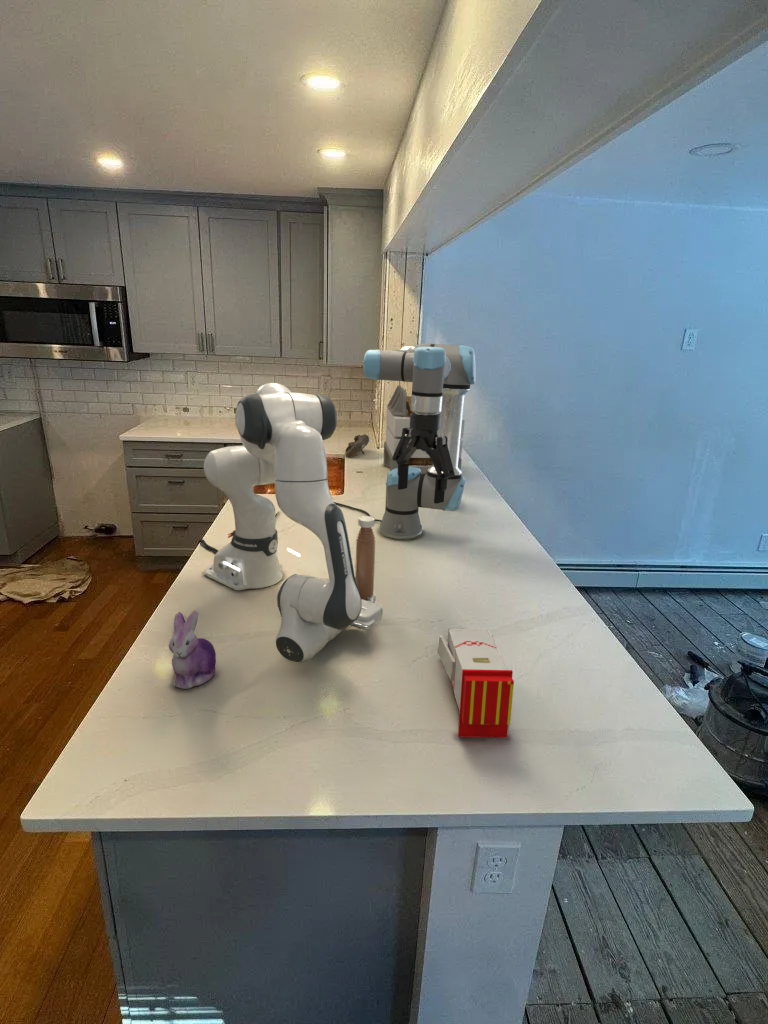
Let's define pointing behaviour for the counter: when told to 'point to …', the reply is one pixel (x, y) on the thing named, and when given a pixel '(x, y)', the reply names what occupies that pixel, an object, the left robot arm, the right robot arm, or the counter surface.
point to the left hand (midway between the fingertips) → (356, 593)
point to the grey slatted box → (396, 422)
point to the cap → (366, 521)
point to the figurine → (191, 653)
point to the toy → (478, 682)
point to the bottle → (365, 562)
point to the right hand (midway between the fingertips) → (420, 495)
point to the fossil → (357, 445)
